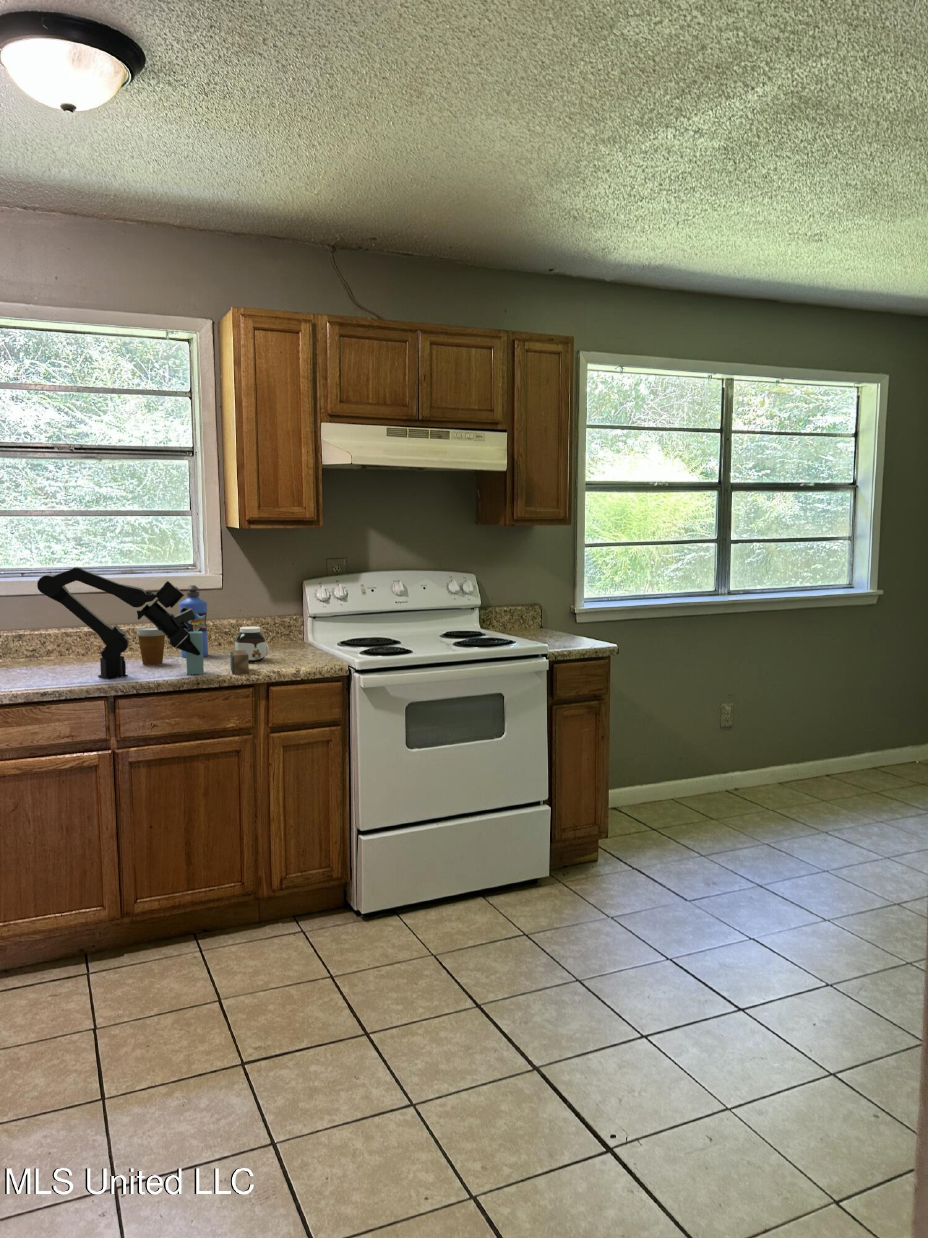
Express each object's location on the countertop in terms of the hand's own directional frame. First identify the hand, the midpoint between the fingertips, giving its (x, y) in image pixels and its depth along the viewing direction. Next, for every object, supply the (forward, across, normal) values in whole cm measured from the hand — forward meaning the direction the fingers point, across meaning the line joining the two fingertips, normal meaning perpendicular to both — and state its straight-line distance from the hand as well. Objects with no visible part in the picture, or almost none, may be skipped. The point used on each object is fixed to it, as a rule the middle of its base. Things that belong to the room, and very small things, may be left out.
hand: (199, 652), depth 292 cm
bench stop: (+13, 0, -4) cm, 14 cm away
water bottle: (+4, +36, +5) cm, 36 cm away
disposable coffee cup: (-6, +22, +15) cm, 28 cm away
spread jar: (+18, +21, -8) cm, 29 cm away
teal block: (+4, 0, +6) cm, 7 cm away
